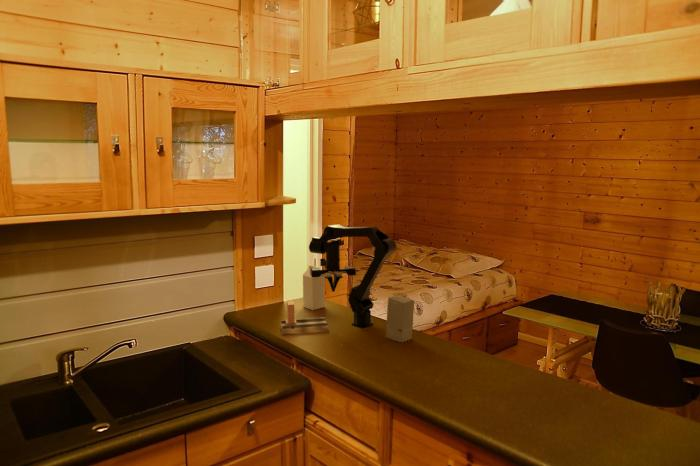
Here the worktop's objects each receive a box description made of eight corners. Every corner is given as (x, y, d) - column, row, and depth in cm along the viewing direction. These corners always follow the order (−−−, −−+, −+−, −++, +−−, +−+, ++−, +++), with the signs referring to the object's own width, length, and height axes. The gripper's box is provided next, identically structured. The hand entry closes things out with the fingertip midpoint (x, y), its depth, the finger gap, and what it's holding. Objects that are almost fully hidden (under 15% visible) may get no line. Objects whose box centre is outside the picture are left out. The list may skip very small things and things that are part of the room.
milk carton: (312, 310, 240) (312, 269, 237) (303, 307, 245) (302, 266, 242) (325, 307, 245) (324, 266, 242) (315, 304, 250) (314, 264, 247)
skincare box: (385, 337, 206) (385, 297, 203) (397, 333, 211) (398, 294, 208) (401, 343, 200) (402, 302, 197) (414, 339, 204) (415, 298, 202)
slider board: (324, 323, 223) (324, 316, 222) (328, 331, 213) (328, 324, 213) (280, 326, 219) (280, 319, 219) (282, 334, 210) (282, 327, 209)
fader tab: (295, 321, 218) (295, 300, 216) (296, 325, 213) (296, 304, 211) (285, 322, 217) (285, 301, 215) (286, 326, 212) (286, 305, 211)
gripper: (350, 250, 233) (350, 285, 236) (308, 252, 230) (308, 287, 232) (356, 255, 223) (356, 292, 225) (311, 257, 219) (312, 294, 222)
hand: (333, 291), depth 226 cm, fingers closed
